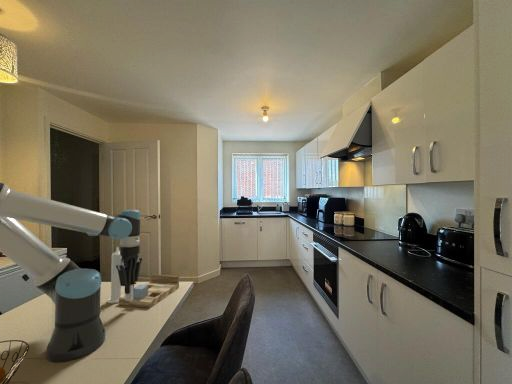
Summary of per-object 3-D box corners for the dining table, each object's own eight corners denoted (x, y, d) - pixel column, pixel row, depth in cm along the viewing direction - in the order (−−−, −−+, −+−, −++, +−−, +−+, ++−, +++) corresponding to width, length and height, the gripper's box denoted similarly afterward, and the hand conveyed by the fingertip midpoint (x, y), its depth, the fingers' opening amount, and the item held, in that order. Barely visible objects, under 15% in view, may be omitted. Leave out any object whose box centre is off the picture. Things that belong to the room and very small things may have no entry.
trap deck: (149, 308, 101) (150, 294, 101) (118, 304, 104) (119, 291, 104) (178, 287, 125) (179, 276, 125) (152, 285, 128) (152, 274, 128)
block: (141, 299, 104) (141, 289, 104) (132, 298, 105) (132, 288, 105) (147, 295, 108) (148, 285, 109) (139, 294, 109) (139, 284, 109)
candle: (119, 303, 105) (120, 248, 106) (103, 303, 105) (105, 248, 106) (128, 297, 112) (129, 245, 113) (113, 296, 112) (114, 245, 113)
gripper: (126, 249, 93) (125, 308, 92) (147, 242, 106) (146, 294, 105) (110, 248, 95) (109, 306, 94) (133, 242, 107) (132, 293, 107)
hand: (129, 300), depth 100 cm, fingers closed
